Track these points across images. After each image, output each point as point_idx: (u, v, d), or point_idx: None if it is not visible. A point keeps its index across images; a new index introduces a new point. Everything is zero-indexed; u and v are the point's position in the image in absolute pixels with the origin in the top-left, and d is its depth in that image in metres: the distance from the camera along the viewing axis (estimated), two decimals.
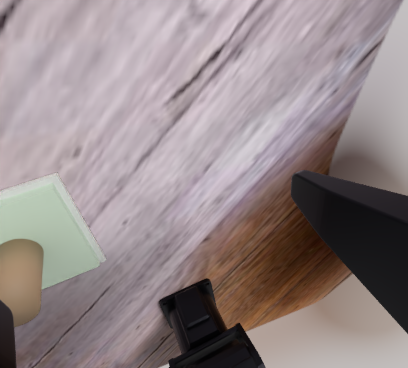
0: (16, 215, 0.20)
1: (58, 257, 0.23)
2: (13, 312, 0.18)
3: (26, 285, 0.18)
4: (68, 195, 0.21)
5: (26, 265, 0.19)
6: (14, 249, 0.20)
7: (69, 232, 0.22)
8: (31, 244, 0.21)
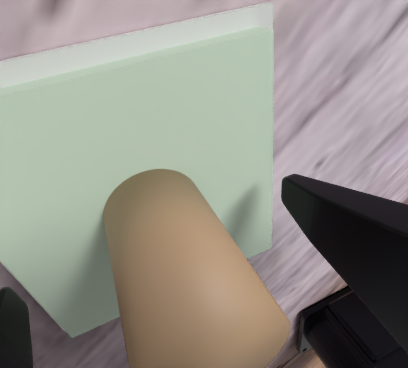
0: (178, 98, 0.08)
1: None
2: None
3: (258, 281, 0.06)
4: None
5: (217, 225, 0.07)
6: (169, 188, 0.08)
7: (257, 165, 0.10)
8: (192, 184, 0.09)
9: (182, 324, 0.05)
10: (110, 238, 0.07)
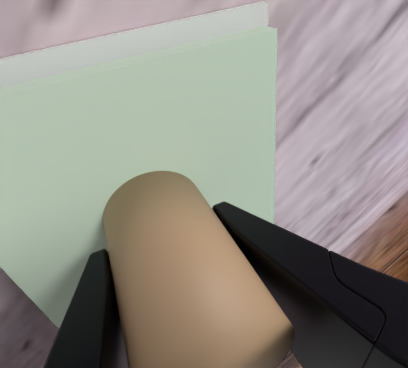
0: (180, 99, 0.07)
1: None
2: None
3: (262, 287, 0.06)
4: None
5: (220, 229, 0.07)
6: (170, 191, 0.07)
7: (259, 167, 0.10)
8: (193, 186, 0.09)
9: (184, 333, 0.04)
10: (110, 242, 0.07)
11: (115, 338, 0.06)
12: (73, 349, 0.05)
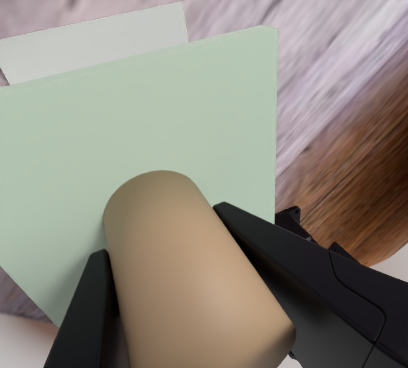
0: (181, 98, 0.07)
1: None
2: None
3: (263, 286, 0.06)
4: (187, 40, 0.17)
5: (221, 228, 0.07)
6: (171, 190, 0.07)
7: (259, 166, 0.10)
8: (194, 185, 0.09)
9: (186, 332, 0.04)
10: (111, 241, 0.07)
11: (115, 338, 0.06)
12: (73, 349, 0.05)
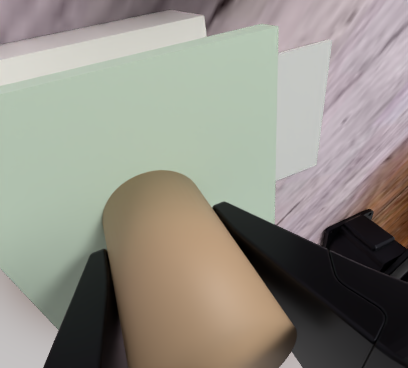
0: (180, 97, 0.07)
1: None
2: None
3: (263, 287, 0.06)
4: (327, 70, 0.20)
5: (220, 229, 0.07)
6: (171, 190, 0.07)
7: (259, 166, 0.10)
8: (194, 185, 0.08)
9: (185, 334, 0.04)
10: (110, 242, 0.07)
11: (115, 338, 0.06)
12: (73, 349, 0.05)
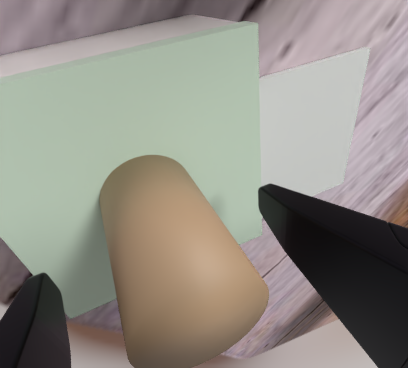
0: (170, 87, 0.08)
1: None
2: (207, 329, 0.06)
3: (239, 251, 0.06)
4: (362, 81, 0.18)
5: (205, 204, 0.07)
6: (161, 171, 0.08)
7: (245, 153, 0.10)
8: (183, 169, 0.09)
9: (167, 283, 0.05)
10: (105, 217, 0.08)
11: None
12: None
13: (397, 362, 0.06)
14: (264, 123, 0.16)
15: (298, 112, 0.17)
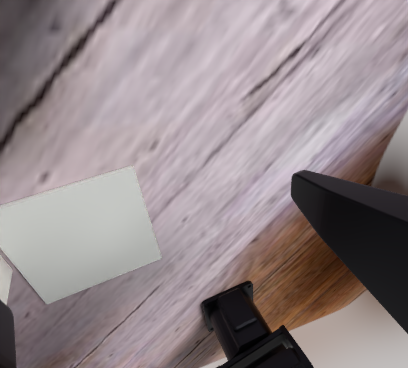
0: None
1: None
2: None
3: None
4: (139, 189, 0.21)
5: None
6: None
7: None
8: None
9: None
10: None
11: None
12: None
13: None
14: (42, 229, 0.20)
15: (76, 217, 0.20)
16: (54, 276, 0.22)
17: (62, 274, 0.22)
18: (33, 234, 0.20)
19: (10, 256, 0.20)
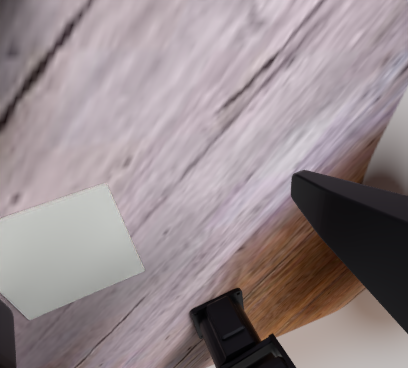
0: None
1: None
2: None
3: None
4: (115, 205, 0.21)
5: None
6: None
7: None
8: None
9: None
10: None
11: None
12: None
13: None
14: (17, 249, 0.20)
15: (52, 236, 0.20)
16: (34, 292, 0.22)
17: (43, 291, 0.22)
18: (8, 254, 0.20)
19: None
